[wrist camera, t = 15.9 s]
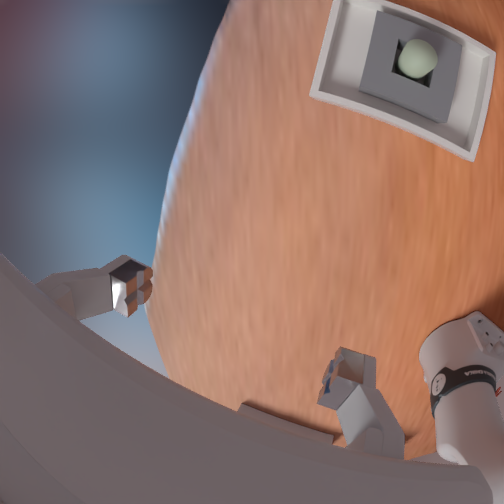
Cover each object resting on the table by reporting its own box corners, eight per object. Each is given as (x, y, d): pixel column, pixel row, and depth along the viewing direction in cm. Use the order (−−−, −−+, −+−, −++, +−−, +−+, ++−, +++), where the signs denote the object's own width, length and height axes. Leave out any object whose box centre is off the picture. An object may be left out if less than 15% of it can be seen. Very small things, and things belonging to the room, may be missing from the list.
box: (485, 57, 23) (500, 50, 18) (463, 159, 31) (477, 163, 27) (338, -2, 28) (335, -17, 23) (313, 98, 36) (307, 93, 31)
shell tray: (333, 435, 63) (331, 447, 60) (305, 460, 73) (302, 470, 70) (241, 403, 68) (236, 414, 65) (228, 432, 78) (224, 442, 75)
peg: (424, 63, 27) (440, 48, 20) (418, 87, 29) (434, 76, 21) (397, 52, 28) (407, 33, 20) (392, 75, 30) (401, 62, 22)
